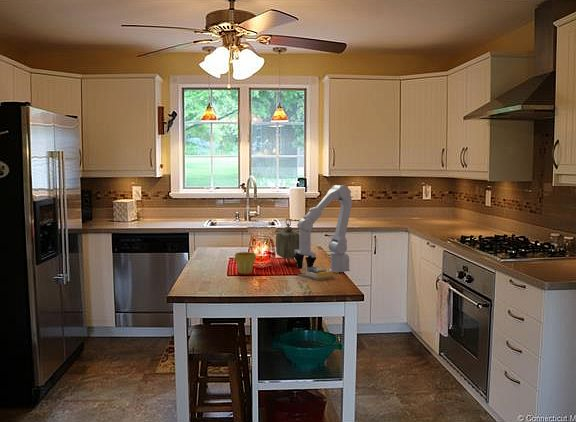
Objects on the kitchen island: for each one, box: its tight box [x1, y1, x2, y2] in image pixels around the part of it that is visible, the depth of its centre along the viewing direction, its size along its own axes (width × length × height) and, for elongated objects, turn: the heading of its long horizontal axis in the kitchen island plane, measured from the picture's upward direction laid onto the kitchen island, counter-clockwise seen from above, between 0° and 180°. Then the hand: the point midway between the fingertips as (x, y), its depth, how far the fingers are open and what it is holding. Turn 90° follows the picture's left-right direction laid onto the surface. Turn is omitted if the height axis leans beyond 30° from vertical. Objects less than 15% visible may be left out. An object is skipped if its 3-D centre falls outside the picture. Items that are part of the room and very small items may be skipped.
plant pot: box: [234, 251, 257, 275], centre depth 271 cm, size 10×10×10 cm
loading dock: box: [297, 271, 335, 281], centre depth 263 cm, size 10×16×4 cm, turn 37°
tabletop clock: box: [275, 218, 299, 266], centre depth 295 cm, size 14×9×25 cm, turn 22°
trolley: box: [305, 265, 328, 274], centre depth 262 cm, size 6×9×4 cm
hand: (304, 269), depth 269 cm, fingers open, 7 cm apart
